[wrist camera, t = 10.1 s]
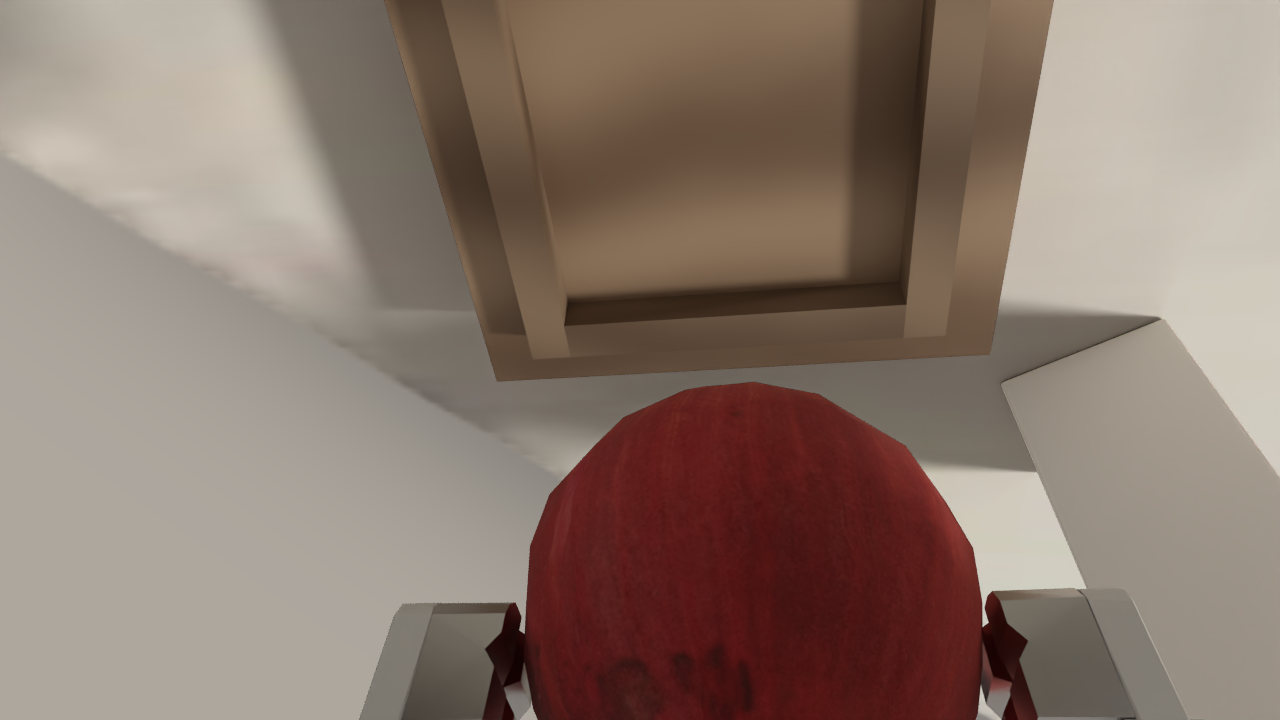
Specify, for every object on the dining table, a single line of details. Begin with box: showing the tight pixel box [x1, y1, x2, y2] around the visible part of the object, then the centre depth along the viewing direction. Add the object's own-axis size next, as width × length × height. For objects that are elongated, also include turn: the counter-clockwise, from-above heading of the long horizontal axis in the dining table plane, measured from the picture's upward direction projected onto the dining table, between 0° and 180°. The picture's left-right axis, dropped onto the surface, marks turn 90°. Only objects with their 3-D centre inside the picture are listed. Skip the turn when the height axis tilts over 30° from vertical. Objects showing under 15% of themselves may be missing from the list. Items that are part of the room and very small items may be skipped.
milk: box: [1001, 319, 1280, 720], centre depth 24 cm, size 6×6×22 cm
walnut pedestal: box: [384, 0, 1054, 381], centre depth 23 cm, size 16×16×5 cm
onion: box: [524, 382, 983, 720], centre depth 11 cm, size 6×6×8 cm
